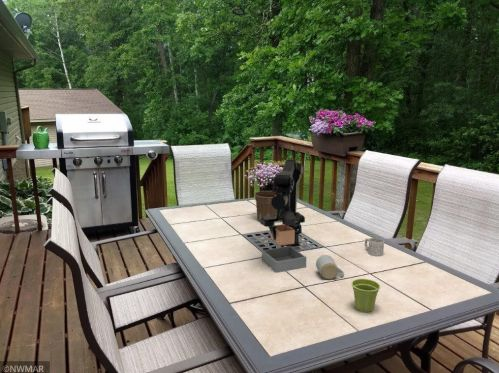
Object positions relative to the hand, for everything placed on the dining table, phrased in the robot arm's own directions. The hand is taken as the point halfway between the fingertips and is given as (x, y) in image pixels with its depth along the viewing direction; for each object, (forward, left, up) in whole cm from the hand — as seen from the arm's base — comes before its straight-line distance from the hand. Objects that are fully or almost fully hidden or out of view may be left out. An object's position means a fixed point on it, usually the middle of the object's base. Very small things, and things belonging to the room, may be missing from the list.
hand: (282, 238), depth 170 cm
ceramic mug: (-13, +18, -12) cm, 25 cm away
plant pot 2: (-9, +45, -11) cm, 47 cm away
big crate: (0, +1, -12) cm, 12 cm away
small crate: (0, 0, -1) cm, 1 cm away
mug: (-45, +5, -12) cm, 47 cm away
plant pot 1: (-21, -60, -11) cm, 65 cm away
